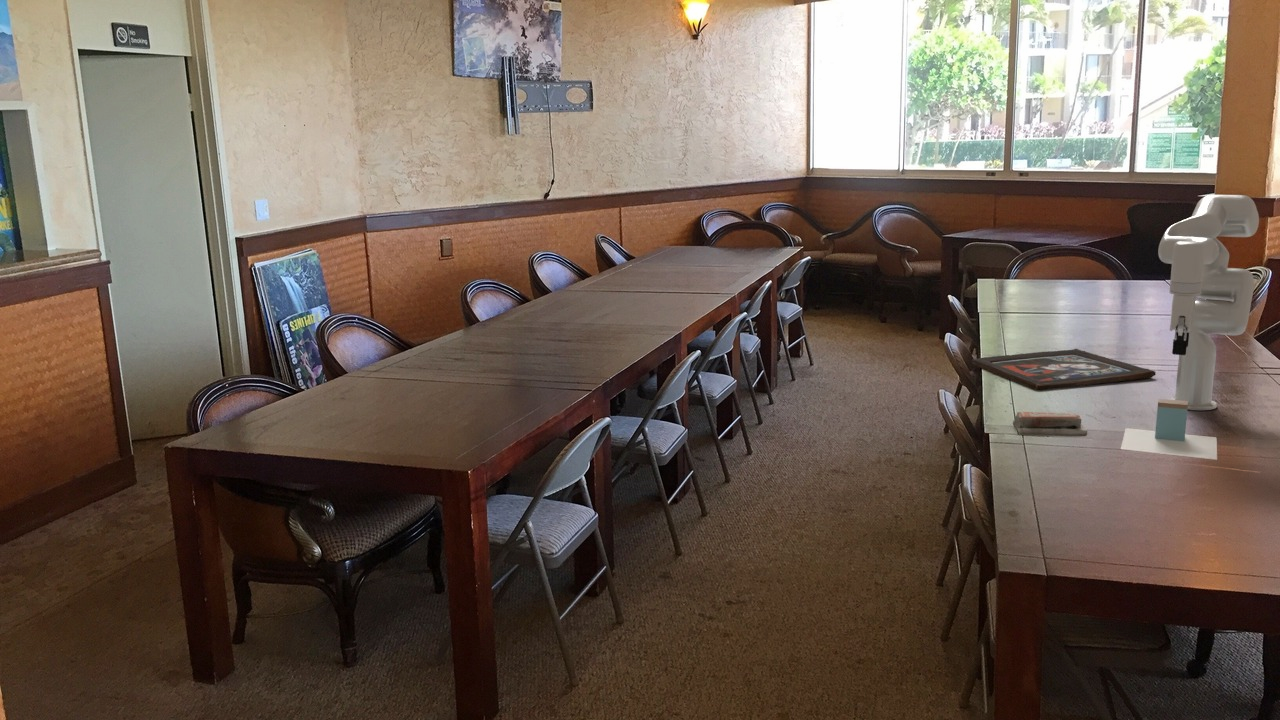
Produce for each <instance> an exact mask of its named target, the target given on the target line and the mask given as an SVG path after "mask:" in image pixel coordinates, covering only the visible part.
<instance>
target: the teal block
mask: <svg viewBox="0 0 1280 720" xmlns="http://www.w3.org/2000/svg"><path fill="white" fill-rule="evenodd" d="M1187 418H1188V401H1179V400H1169V398H1168V399H1167V398H1158V400H1157V411H1156V421H1155V430H1154V431H1155V438H1156V439H1165V440H1175V441H1184V440H1185V434H1186V429H1187V428H1186V427H1187Z"/></svg>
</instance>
